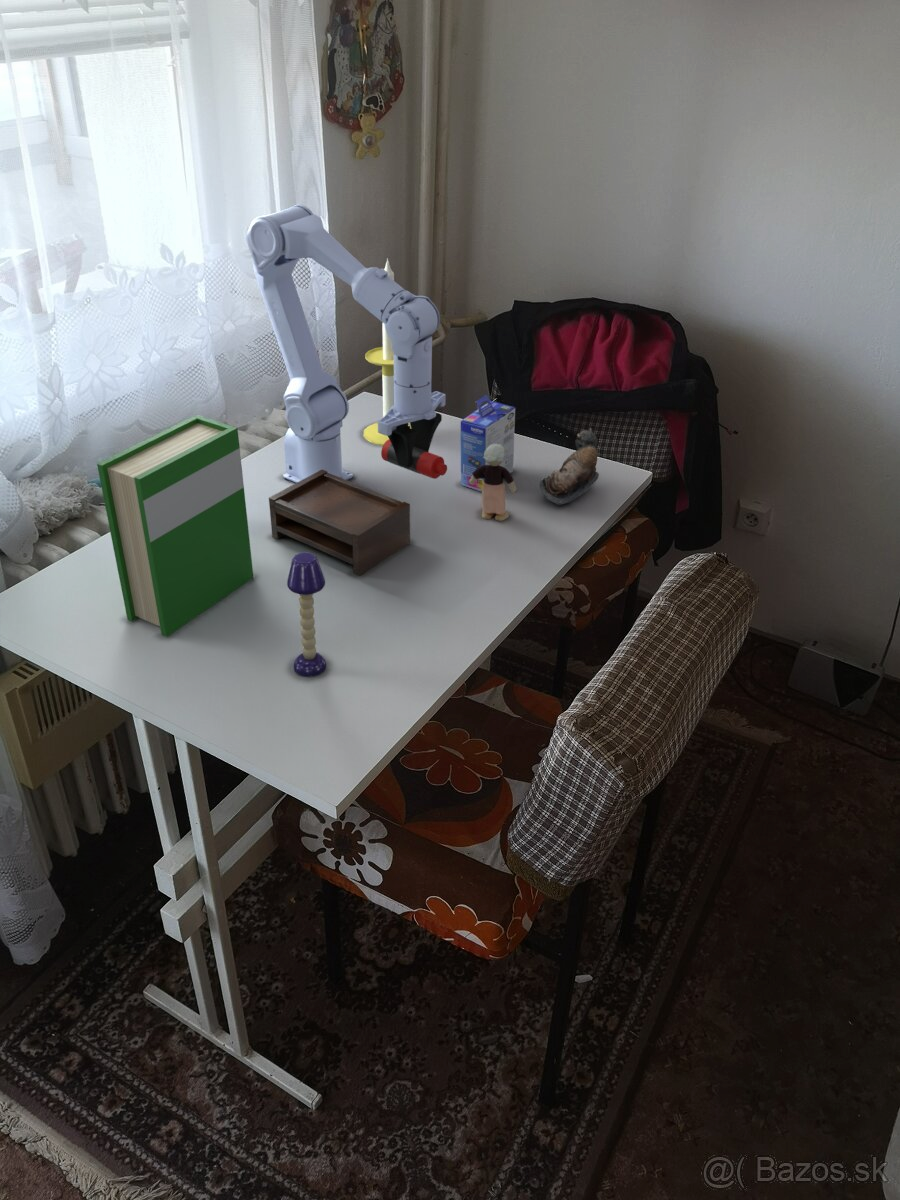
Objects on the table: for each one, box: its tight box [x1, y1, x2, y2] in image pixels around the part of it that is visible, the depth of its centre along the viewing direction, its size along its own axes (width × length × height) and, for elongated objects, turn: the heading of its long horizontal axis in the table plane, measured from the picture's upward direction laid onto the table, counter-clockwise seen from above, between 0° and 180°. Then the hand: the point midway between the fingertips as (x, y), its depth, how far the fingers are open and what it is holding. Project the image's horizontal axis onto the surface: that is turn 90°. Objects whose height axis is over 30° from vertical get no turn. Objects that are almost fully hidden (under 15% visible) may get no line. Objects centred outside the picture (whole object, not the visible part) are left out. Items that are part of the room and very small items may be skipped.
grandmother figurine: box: [469, 443, 517, 522], centre depth 164 cm, size 8×4×13 cm, turn 84°
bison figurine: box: [539, 427, 600, 506], centre depth 171 cm, size 12×7×10 cm, turn 142°
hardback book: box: [96, 414, 254, 638], centre depth 140 cm, size 18×7×24 cm, turn 148°
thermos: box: [380, 439, 448, 480], centre depth 163 cm, size 11×4×4 cm, turn 54°
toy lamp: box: [286, 551, 327, 678], centre depth 130 cm, size 5×5×17 cm
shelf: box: [268, 469, 411, 577], centre depth 159 cm, size 18×12×7 cm, turn 53°
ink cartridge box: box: [460, 394, 516, 493], centre depth 174 cm, size 10×6×14 cm, turn 147°
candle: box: [363, 257, 411, 447], centre depth 183 cm, size 10×10×32 cm
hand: (412, 460), depth 164 cm, fingers closed on thermos, 4 cm apart
